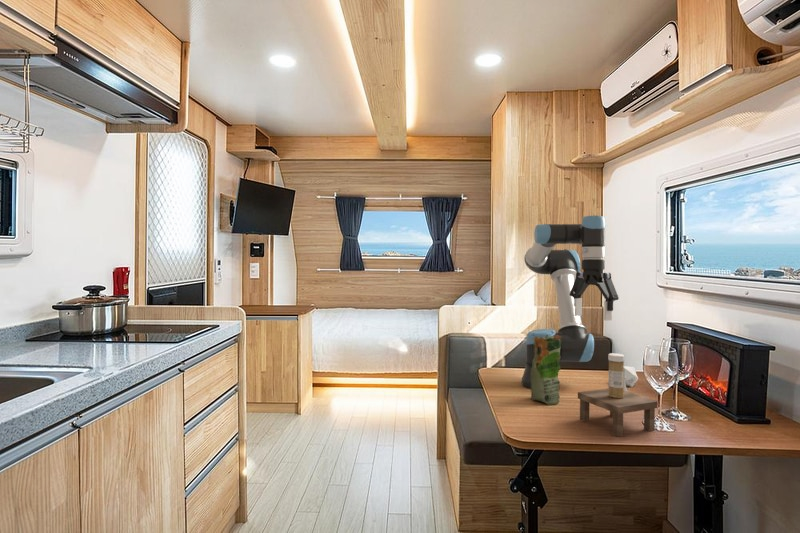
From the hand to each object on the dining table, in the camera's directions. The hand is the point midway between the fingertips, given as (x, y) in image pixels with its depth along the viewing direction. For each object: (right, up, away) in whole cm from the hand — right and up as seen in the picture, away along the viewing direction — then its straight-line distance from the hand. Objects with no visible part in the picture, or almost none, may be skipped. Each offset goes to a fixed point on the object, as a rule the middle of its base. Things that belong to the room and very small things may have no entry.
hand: (592, 318), depth 156 cm
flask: (+12, -32, +4) cm, 35 cm away
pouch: (-15, -32, +5) cm, 36 cm away
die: (+27, -32, +28) cm, 50 cm away
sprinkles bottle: (-1, -23, -18) cm, 29 cm away
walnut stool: (-1, -32, -18) cm, 37 cm away
